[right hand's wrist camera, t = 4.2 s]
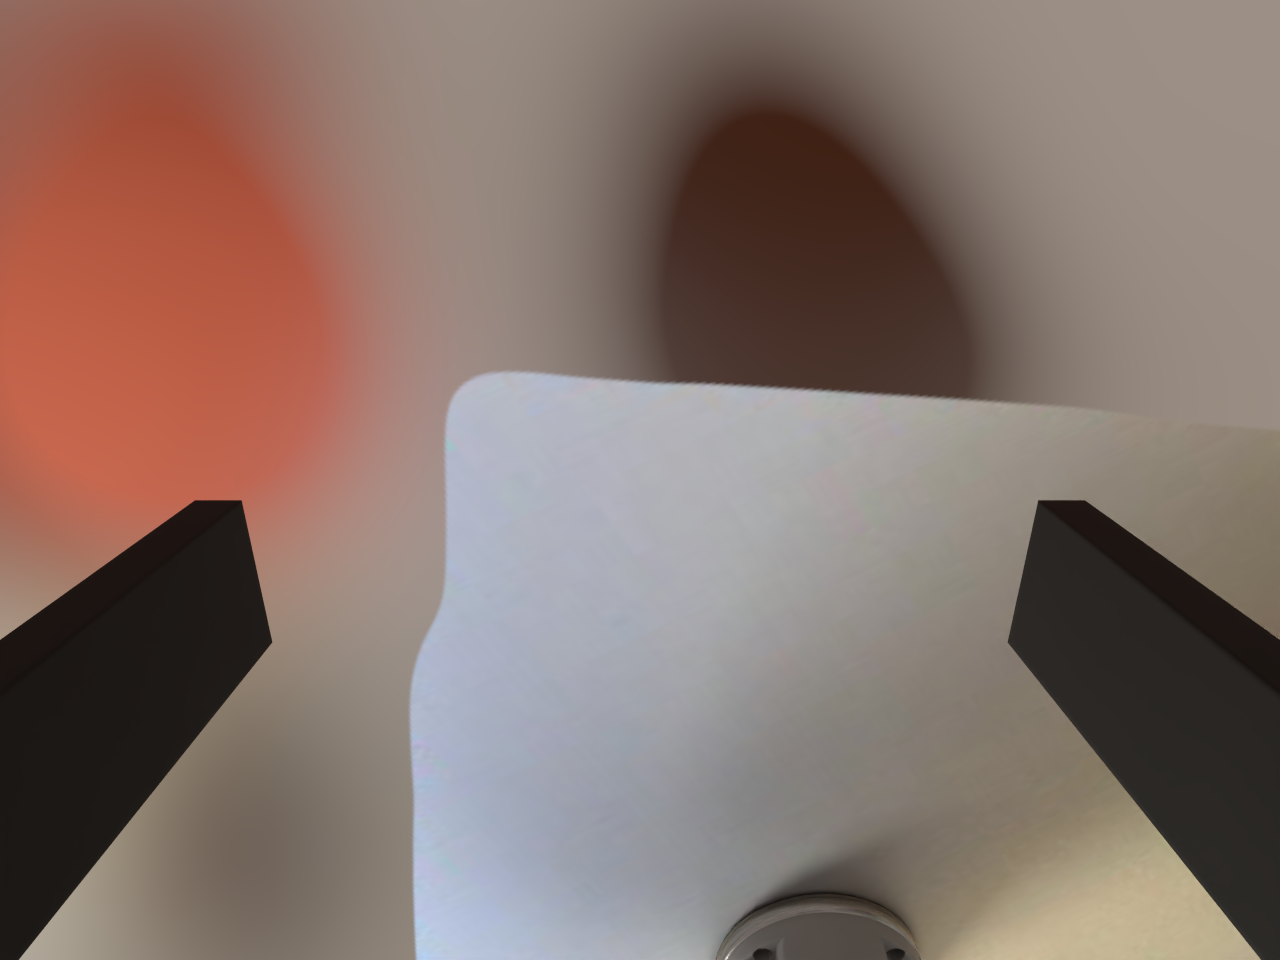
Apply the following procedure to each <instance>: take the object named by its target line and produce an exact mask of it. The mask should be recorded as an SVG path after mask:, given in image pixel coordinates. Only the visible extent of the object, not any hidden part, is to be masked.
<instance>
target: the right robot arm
mask: <svg viewBox="0 0 1280 960" xmlns="http://www.w3.org/2000/svg"><path fill="white" fill-rule="evenodd" d="M271 643H272V639H271V634H270V630H269V625H268V620H267V616H266V611H265V607H264V602H263V597H262V593H261V588H260V583H259V579H258V574H257V570H256V565H255V560H254V556H253V551H252V546H251V542H250V537H249V533H248V528H247V523H246V519H245V514H244V510H243V505H242V501H241V500H195V501H194V502H192V503H191V504H189V505H188V506H187V507H185V508H184V509H182V510H181V511H180V512H178V513H177V514H175V515H174V516H173V517H171V518H170V519H169V520H167V521H166V522H164V523H163V524H161V525H160V526H159V527H157V528H156V529H155V530H153V531H152V532H150V533H149V534H148V535H146V536H145V537H143V538H142V539H141V540H139V541H138V542H136V543H135V544H134V545H132V546H131V547H129V548H128V549H127V550H125V551H124V552H122V553H121V554H120V555H118V556H117V557H115V558H114V559H113V560H111V561H110V562H108V563H107V564H106V565H104V566H103V567H101V568H100V569H99V570H97V571H96V572H94V573H93V574H92V575H90V576H89V577H88V578H86V579H85V580H83V581H82V582H80V583H79V584H78V585H76V586H75V587H73V588H72V589H71V590H69V591H68V592H67V593H65V594H64V595H62V596H61V597H60V598H58V599H57V600H55V601H54V602H53V603H51V604H50V605H48V606H47V607H46V608H44V609H43V610H41V611H40V612H39V613H37V614H36V615H34V616H33V617H32V618H30V619H29V620H27V621H26V622H25V623H23V624H22V625H20V626H19V627H18V628H16V629H15V630H13V631H12V632H11V633H9V634H8V635H6V636H5V637H4V638H2V639H1V640H0V960H19V959H20V957H21V956H22V955H23V954H24V952H25V951H26V950H27V949H28V947H29V946H30V945H31V944H32V942H33V941H34V940H35V939H36V937H37V936H38V935H39V934H40V932H41V931H42V930H43V929H44V927H45V926H46V925H47V924H48V922H49V921H50V920H51V919H52V917H53V916H54V915H55V914H56V912H57V911H58V910H59V909H60V907H61V906H62V905H63V904H64V902H65V901H66V900H67V899H68V897H69V896H70V895H71V894H72V892H73V891H74V890H75V889H76V887H77V886H78V885H79V884H80V882H81V881H82V880H83V879H84V877H85V876H86V875H87V874H88V872H89V871H90V870H91V869H92V867H93V866H94V865H95V864H96V862H97V861H98V860H99V859H100V857H101V856H102V855H103V854H104V852H105V851H106V850H107V849H108V847H109V846H110V845H111V844H112V842H113V841H114V840H115V838H116V837H117V836H118V835H119V834H120V832H121V831H122V830H123V828H124V827H125V826H126V825H127V824H128V822H129V821H130V820H131V818H132V817H133V816H134V815H135V813H136V812H137V811H138V810H139V809H140V807H141V806H142V805H143V803H144V802H145V801H146V800H147V798H148V797H149V796H150V795H151V793H152V792H153V791H154V790H155V788H156V787H157V786H158V785H159V783H160V782H161V781H162V780H163V778H164V777H165V776H166V775H167V773H168V772H169V771H170V770H171V768H172V767H173V766H174V765H175V763H176V762H177V761H178V760H179V758H180V757H181V756H182V755H183V753H184V752H185V751H186V750H187V748H188V747H189V746H190V745H191V743H192V742H193V741H194V740H195V738H196V737H197V736H198V735H199V733H200V732H201V731H202V730H203V728H204V727H205V726H206V725H207V723H208V722H209V721H210V719H211V718H212V717H213V716H214V715H215V713H216V712H217V711H218V710H219V708H220V707H221V706H222V705H223V703H224V702H225V701H226V700H227V698H228V697H229V696H230V695H231V693H232V692H233V691H234V690H235V688H236V687H237V686H238V685H239V683H240V682H241V681H242V680H243V678H244V677H245V676H246V674H247V673H248V672H249V671H250V670H251V668H252V667H253V666H254V665H255V663H256V662H257V661H258V660H259V658H260V657H261V656H262V655H263V653H264V652H265V651H266V650H267V648H268V647H269V646H270V644H271ZM1008 643H1009V645H1010V646H1011V647H1012V648H1013V650H1014V651H1015V652H1016V653H1017V655H1018V656H1019V657H1020V658H1021V660H1022V661H1023V662H1024V663H1025V665H1026V666H1027V667H1028V668H1029V670H1030V671H1031V672H1032V673H1033V675H1034V676H1035V677H1036V678H1037V680H1038V681H1039V682H1040V683H1041V685H1042V686H1043V687H1044V688H1045V690H1046V691H1047V692H1048V693H1049V695H1050V696H1051V697H1052V698H1053V700H1054V701H1055V702H1056V703H1057V705H1058V706H1059V707H1060V708H1061V710H1062V711H1063V712H1064V713H1065V715H1066V716H1067V717H1068V718H1069V720H1070V721H1071V722H1072V723H1073V725H1074V726H1075V727H1076V728H1077V730H1078V731H1079V732H1080V733H1081V735H1082V736H1083V737H1084V738H1085V740H1086V741H1087V742H1088V743H1089V745H1090V746H1091V747H1092V748H1093V750H1094V751H1095V752H1096V753H1097V755H1098V756H1099V757H1100V758H1101V760H1102V761H1103V762H1104V763H1105V765H1106V766H1107V767H1108V768H1109V770H1110V771H1111V772H1112V773H1113V775H1114V776H1115V777H1116V778H1117V780H1118V781H1119V782H1120V783H1121V785H1122V786H1123V787H1124V788H1125V790H1126V791H1127V792H1128V793H1129V795H1130V796H1131V797H1132V798H1133V800H1134V801H1135V802H1136V804H1137V805H1138V806H1139V807H1140V809H1141V810H1142V811H1143V812H1144V814H1145V815H1146V816H1147V817H1148V819H1149V820H1150V821H1151V822H1152V824H1153V825H1154V826H1155V827H1156V829H1157V830H1158V831H1159V832H1160V834H1161V835H1162V836H1163V837H1164V839H1165V840H1166V841H1167V842H1168V844H1169V845H1170V846H1171V847H1172V849H1173V850H1174V851H1175V852H1176V854H1177V855H1178V856H1179V857H1180V859H1181V860H1182V861H1183V862H1184V864H1185V865H1186V866H1187V867H1188V869H1189V870H1190V871H1191V872H1192V874H1193V875H1194V876H1195V877H1196V879H1197V880H1198V881H1199V882H1200V884H1201V885H1202V886H1203V887H1204V889H1205V890H1206V891H1207V892H1208V894H1209V895H1210V896H1211V897H1212V899H1213V900H1214V901H1215V902H1216V904H1217V905H1218V906H1219V907H1220V909H1221V910H1222V911H1223V912H1224V914H1225V915H1226V916H1227V917H1228V919H1229V920H1230V921H1231V922H1232V924H1233V925H1234V926H1235V927H1236V929H1237V930H1238V931H1239V932H1240V934H1241V935H1242V936H1243V937H1244V939H1245V940H1246V941H1247V942H1248V944H1249V945H1250V946H1251V947H1252V949H1253V950H1254V951H1255V952H1256V954H1257V955H1258V956H1259V957H1260V959H1261V960H1280V640H1279V639H1278V638H1276V637H1275V636H1274V635H1272V634H1271V633H1269V632H1268V631H1267V630H1265V629H1264V628H1262V627H1261V626H1260V625H1258V624H1257V623H1255V622H1254V621H1253V620H1251V619H1250V618H1248V617H1247V616H1246V615H1244V614H1243V613H1241V612H1240V611H1239V610H1237V609H1236V608H1234V607H1233V606H1232V605H1230V604H1229V603H1227V602H1226V601H1225V600H1223V599H1222V598H1220V597H1219V596H1218V595H1216V594H1215V593H1214V592H1212V591H1211V590H1209V589H1208V588H1207V587H1205V586H1204V585H1202V584H1201V583H1200V582H1198V581H1197V580H1195V579H1194V578H1193V577H1191V576H1190V575H1188V574H1187V573H1186V572H1184V571H1183V570H1181V569H1180V568H1179V567H1177V566H1176V565H1174V564H1173V563H1172V562H1170V561H1169V560H1167V559H1166V558H1165V557H1163V556H1162V555H1160V554H1159V553H1158V552H1156V551H1155V550H1153V549H1152V548H1151V547H1149V546H1148V545H1146V544H1145V543H1144V542H1142V541H1141V540H1139V539H1138V538H1137V537H1135V536H1134V535H1132V534H1131V533H1130V532H1128V531H1127V530H1126V529H1124V528H1123V527H1121V526H1120V525H1119V524H1117V523H1116V522H1114V521H1113V520H1112V519H1110V518H1109V517H1107V516H1106V515H1105V514H1103V513H1102V512H1100V511H1099V510H1098V509H1096V508H1095V507H1093V506H1092V505H1091V504H1089V503H1088V502H1086V501H1085V500H1038V505H1037V509H1036V514H1035V519H1034V523H1033V528H1032V533H1031V537H1030V542H1029V546H1028V551H1027V556H1026V560H1025V565H1024V570H1023V574H1022V579H1021V583H1020V588H1019V593H1018V597H1017V602H1016V607H1015V611H1014V616H1013V620H1012V625H1011V630H1010V634H1009V639H1008ZM716 960H921V959H920V956H919V953H918V951H917V948H916V945H915V942H914V940H913V937H912V935H911V933H910V932H909V930H908V929H907V927H906V926H905V925H904V924H903V922H902V921H901V920H900V919H898V918H897V917H896V916H895V915H894V914H892V913H891V912H890V911H888V910H886V909H885V908H883V907H881V906H879V905H877V904H875V903H872V902H870V901H867V900H864V899H860V898H857V897H852V896H846V895H838V894H811V895H803V896H797V897H792V898H788V899H784V900H781V901H778V902H775V903H772V904H770V905H767V906H765V907H763V908H761V909H759V910H757V911H755V912H754V913H752V914H750V915H749V916H747V917H746V918H745V919H743V920H742V921H741V922H740V923H739V924H737V925H736V926H735V927H734V928H733V929H732V930H731V932H730V933H729V934H728V935H727V937H726V938H725V939H724V941H723V943H722V944H721V946H720V949H719V951H718V954H717V958H716Z"/></svg>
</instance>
